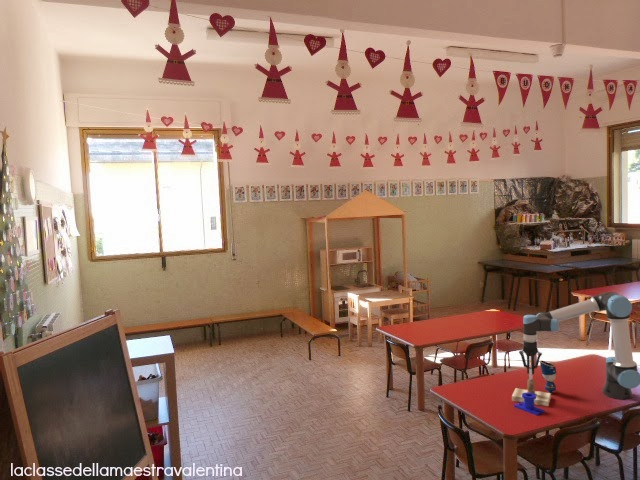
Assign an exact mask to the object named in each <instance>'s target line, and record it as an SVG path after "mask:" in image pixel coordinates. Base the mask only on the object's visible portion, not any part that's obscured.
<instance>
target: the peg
mask: <svg viewBox="0 0 640 480" xmlns="http://www.w3.org/2000/svg"><path fill="white" fill-rule="evenodd" d="M526 381H527V390H528V393H533V394H535V391H536V386H535V385H536V384H535V382H536V381H535V379H533V378H532V380H530V379H529V378H527V380H526Z"/></svg>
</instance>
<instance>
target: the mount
mask: <svg viewBox="0 0 640 480" xmlns="http://www.w3.org/2000/svg"><path fill="white" fill-rule="evenodd" d="M522 397H523V398H524V403H523V402H518V403H515V404H513V407H514V408H517V409H518V410H521V411H523V412H526V413H529V414H531V415H534V416H539V414H540V415H541V414H544V413H546V410H545V409H542V408H539V407H537V406H535V404H534V399H536V395H535V394H533V393H523V394H522Z"/></svg>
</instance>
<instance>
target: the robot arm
mask: <svg viewBox="0 0 640 480" xmlns="http://www.w3.org/2000/svg"><path fill="white" fill-rule="evenodd" d="M632 310H633V304H632V302H631V301H630V300H629V298H627V297H626V296H624V295H621V294H618V293H617V292H614V291H605V292H602V293H599V294H597V295H593V296H591V297H590V298H589V299H586V300H584V301H579V302H577V303H573V304H570V305H568V306H567V305H566V306H564V307H561V308H557V309H555V310H551V311H548V312H538V313H537V314H536V315H534V314H526V315H525V314H524V316H523V317H522V318H523V319H522V321H523V322H522V324H523V325H522V326H523V327H522V328H523V330H522V331H523V337H522V338H523V348H522V349H520V350H519V352H518V353H519V355H520V357H521V360H522V364H523V367H524V368H526V369H527V370H526V373H527V374H528V377H529V378H528V379H530V380H532V379H533V375H534V374H535V370H536V369H537V368H538V367H539V364H540V360H541V357H542V355H543V352H540V351H539V349H538V342H537V341H538V332H548V333H549V332H550V333H552V332H559V330H560V324H559V323H560V322H563V321H567V320H570V319H574V318H577V317H580V316H584V315H587V314H591V313H594V312H598V313H600V312H602V311H603V312H604V311H605V312H606V318H607V319H608V320H609V321H610V329H611V335H612V341H613V349H614V350H613V351H614V356H608V357H606V359H605V360H606V361H605V369H606V370H605V371H606V372H605V373H606V376H605V378H606V380H605V383H604V385H603V388H602V393H603V395H604V396H606V397H609V398H613V399H615V400H616V399H617V400H629V399H630V400H631V399H632V398H633V391H632V389H634V388H637V387H638V386H640V372H639V371H638V364H637V362H635V360H634V357H633V350H632V344H631V343H632V342H631V337H630V336H631V335H630V328H629V320H630V319H631V312H632ZM524 354H525V355H526V358H525V355H524ZM536 354H537V357H536V361H535V356H536ZM530 363H531V364H530ZM530 365H531V366H530Z"/></svg>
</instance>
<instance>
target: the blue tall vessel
mask: <svg viewBox="0 0 640 480" xmlns="http://www.w3.org/2000/svg"><path fill="white" fill-rule="evenodd" d="M539 364H540V369H541V374H542V377H543V378H544V380H546V383H545V385H544V390H545V391H546V392H548V393H551V394H554V392H556V391H557V385H556V384H555V382H554V381H555V380H556V379H557V369H556V365H555V364H554V363H551V362H547V361H544V360H539Z"/></svg>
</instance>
